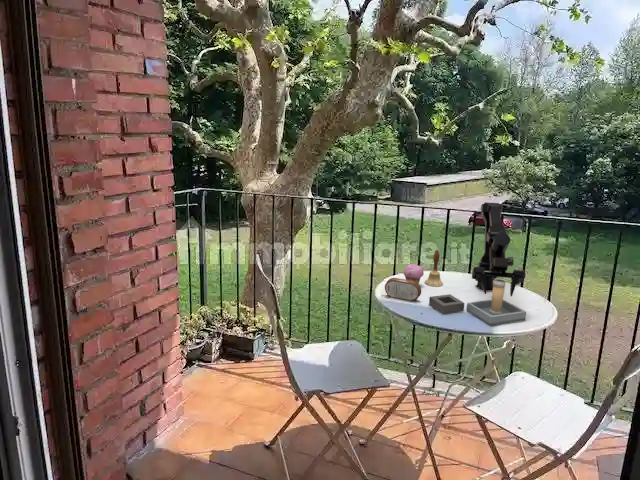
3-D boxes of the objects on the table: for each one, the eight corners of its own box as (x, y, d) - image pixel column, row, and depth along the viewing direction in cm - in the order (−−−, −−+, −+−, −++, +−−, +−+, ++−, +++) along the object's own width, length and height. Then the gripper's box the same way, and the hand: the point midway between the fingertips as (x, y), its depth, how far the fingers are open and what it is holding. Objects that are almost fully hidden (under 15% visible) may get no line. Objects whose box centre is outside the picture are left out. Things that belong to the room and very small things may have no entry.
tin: (420, 300, 192) (422, 281, 190) (419, 303, 189) (420, 283, 187) (385, 294, 198) (386, 275, 196) (383, 297, 195) (384, 278, 193)
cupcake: (405, 281, 214) (407, 260, 212) (424, 284, 211) (426, 263, 208) (400, 287, 206) (401, 266, 204) (419, 290, 203) (421, 269, 200)
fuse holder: (449, 302, 191) (450, 294, 190) (463, 311, 182) (464, 303, 181) (428, 304, 188) (429, 296, 187) (442, 314, 179) (443, 305, 178)
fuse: (491, 310, 181) (495, 278, 178) (503, 312, 178) (507, 281, 175) (487, 313, 178) (491, 281, 174) (499, 316, 175) (503, 284, 172)
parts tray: (499, 306, 187) (500, 298, 186) (525, 320, 175) (526, 311, 174) (466, 311, 182) (467, 302, 181) (490, 326, 169) (491, 317, 168)
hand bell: (446, 283, 213) (449, 249, 209) (438, 288, 206) (441, 253, 202) (429, 279, 218) (432, 246, 213) (421, 284, 211) (423, 250, 207)
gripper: (475, 246, 177) (475, 283, 170) (527, 250, 174) (530, 288, 166) (471, 260, 187) (471, 295, 179) (521, 264, 183) (523, 300, 175)
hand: (498, 294), depth 175 cm, fingers open, 9 cm apart
